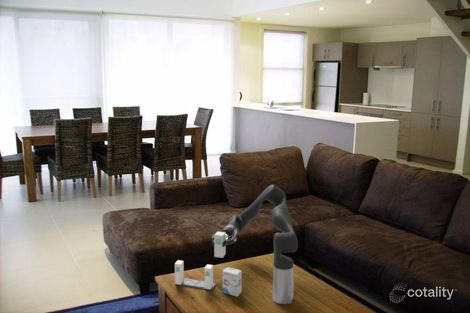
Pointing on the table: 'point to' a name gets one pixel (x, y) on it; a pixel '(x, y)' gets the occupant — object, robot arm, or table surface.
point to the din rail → (195, 284)
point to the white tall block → (219, 244)
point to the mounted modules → (180, 274)
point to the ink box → (232, 281)
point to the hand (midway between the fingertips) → (218, 244)
